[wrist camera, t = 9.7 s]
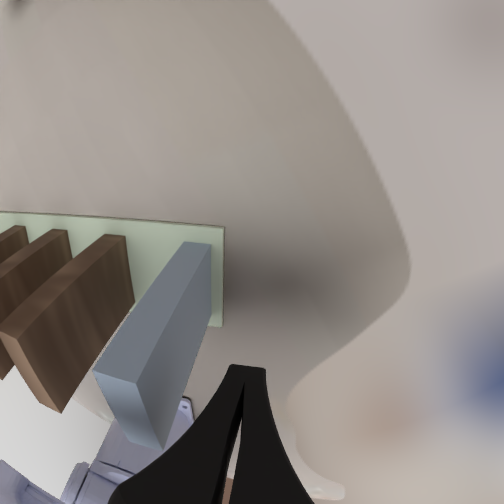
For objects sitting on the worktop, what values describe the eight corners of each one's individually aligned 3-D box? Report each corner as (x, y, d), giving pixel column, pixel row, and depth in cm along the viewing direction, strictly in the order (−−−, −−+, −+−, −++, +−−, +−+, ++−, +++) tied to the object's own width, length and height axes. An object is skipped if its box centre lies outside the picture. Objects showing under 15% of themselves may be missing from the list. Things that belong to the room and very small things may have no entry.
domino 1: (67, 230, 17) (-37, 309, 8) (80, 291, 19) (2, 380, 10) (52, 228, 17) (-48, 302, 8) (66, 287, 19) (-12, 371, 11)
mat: (222, 324, 19) (221, 327, 19) (-18, 270, 21) (-20, 271, 21) (224, 227, 16) (223, 228, 16) (-33, 210, 18) (-35, 211, 18)
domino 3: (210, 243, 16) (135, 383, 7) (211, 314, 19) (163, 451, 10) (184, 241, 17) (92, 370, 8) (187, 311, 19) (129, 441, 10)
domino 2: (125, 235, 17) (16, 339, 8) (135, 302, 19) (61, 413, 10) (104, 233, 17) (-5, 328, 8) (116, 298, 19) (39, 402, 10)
